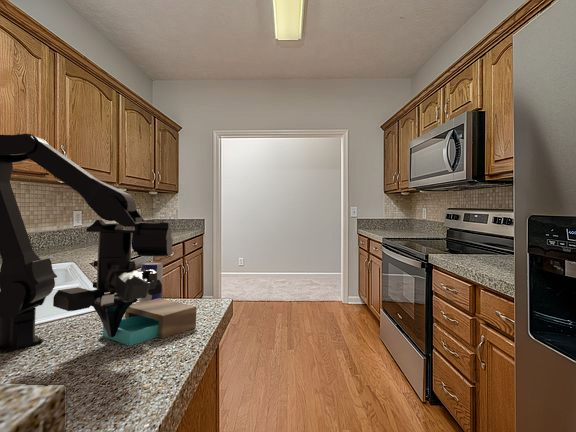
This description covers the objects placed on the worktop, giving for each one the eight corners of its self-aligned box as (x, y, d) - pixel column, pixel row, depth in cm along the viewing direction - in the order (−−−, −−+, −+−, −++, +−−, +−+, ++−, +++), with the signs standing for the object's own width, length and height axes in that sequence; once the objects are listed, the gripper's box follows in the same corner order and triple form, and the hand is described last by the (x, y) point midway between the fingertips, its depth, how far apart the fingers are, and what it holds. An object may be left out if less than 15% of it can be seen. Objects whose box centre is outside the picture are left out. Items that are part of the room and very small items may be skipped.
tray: (102, 335, 69) (103, 324, 69) (153, 321, 79) (154, 311, 79) (129, 346, 64) (130, 333, 64) (180, 329, 74) (180, 318, 74)
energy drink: (143, 312, 86) (145, 265, 86) (136, 308, 90) (138, 262, 90) (164, 309, 89) (166, 263, 89) (157, 305, 93) (158, 261, 93)
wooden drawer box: (124, 326, 75) (125, 305, 75) (159, 317, 83) (159, 298, 83) (162, 338, 69) (163, 315, 69) (195, 327, 76) (196, 306, 76)
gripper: (88, 264, 54) (84, 363, 54) (181, 255, 70) (178, 332, 70) (53, 258, 60) (49, 347, 59) (146, 251, 75) (144, 322, 75)
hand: (111, 336), depth 66 cm, fingers closed
